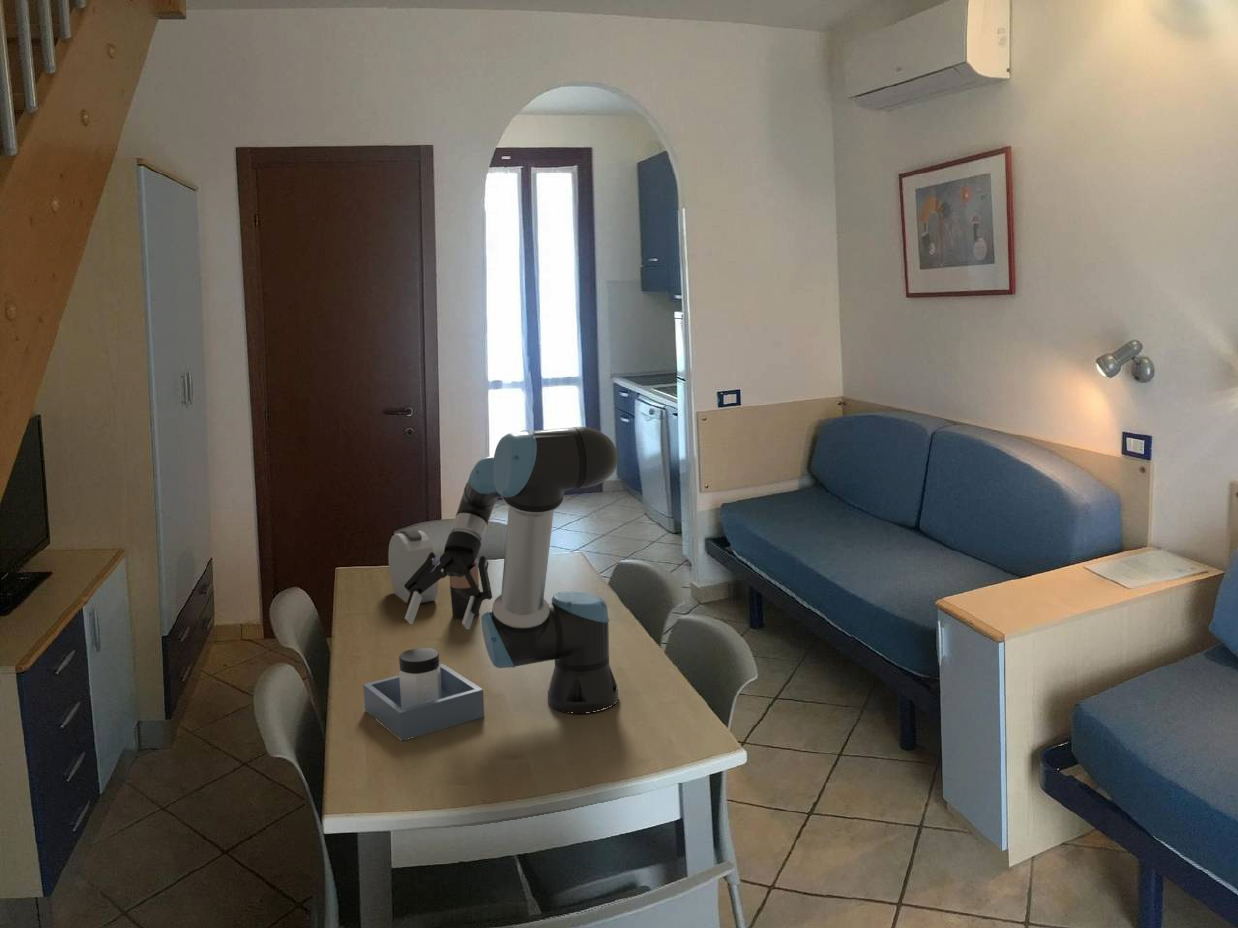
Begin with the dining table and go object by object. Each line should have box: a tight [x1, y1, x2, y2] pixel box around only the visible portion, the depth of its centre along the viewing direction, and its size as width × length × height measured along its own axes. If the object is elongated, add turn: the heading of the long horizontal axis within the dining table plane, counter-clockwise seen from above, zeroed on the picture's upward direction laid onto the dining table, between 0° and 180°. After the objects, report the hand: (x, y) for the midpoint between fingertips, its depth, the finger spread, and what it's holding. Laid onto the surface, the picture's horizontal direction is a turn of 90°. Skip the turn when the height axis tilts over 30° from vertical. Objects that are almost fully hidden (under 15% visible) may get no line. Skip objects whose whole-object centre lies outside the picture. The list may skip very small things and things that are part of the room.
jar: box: [398, 647, 442, 709], centre depth 213 cm, size 9×8×12 cm
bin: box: [363, 663, 485, 740], centre depth 214 cm, size 18×18×6 cm
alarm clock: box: [387, 528, 439, 604], centre depth 292 cm, size 21×8×20 cm, turn 30°
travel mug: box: [449, 557, 480, 620], centre depth 276 cm, size 8×8×20 cm
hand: (436, 624), depth 218 cm, fingers open, 13 cm apart
